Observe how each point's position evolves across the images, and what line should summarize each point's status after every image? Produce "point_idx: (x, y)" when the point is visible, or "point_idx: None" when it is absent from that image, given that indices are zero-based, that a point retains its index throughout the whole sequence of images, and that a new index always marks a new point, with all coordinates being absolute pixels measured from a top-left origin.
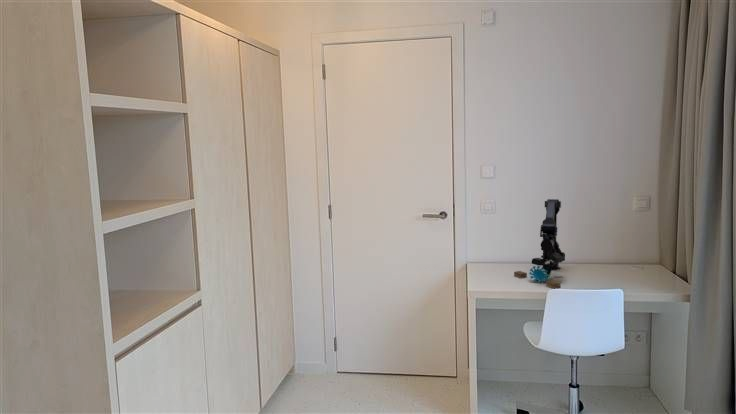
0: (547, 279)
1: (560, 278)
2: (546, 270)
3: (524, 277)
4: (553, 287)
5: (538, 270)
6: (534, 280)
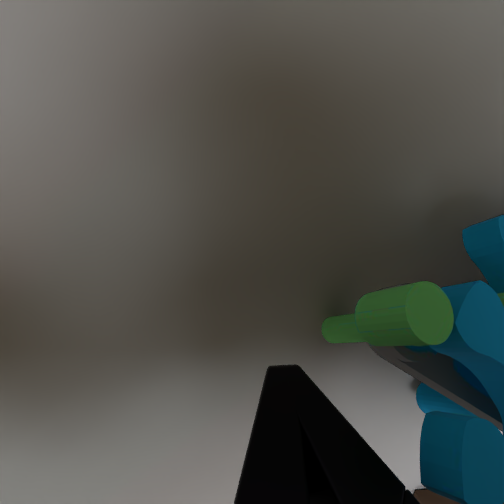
0: (473, 225)
1: (6, 250)
2: (476, 486)
3: None
4: None
5: None
6: None
